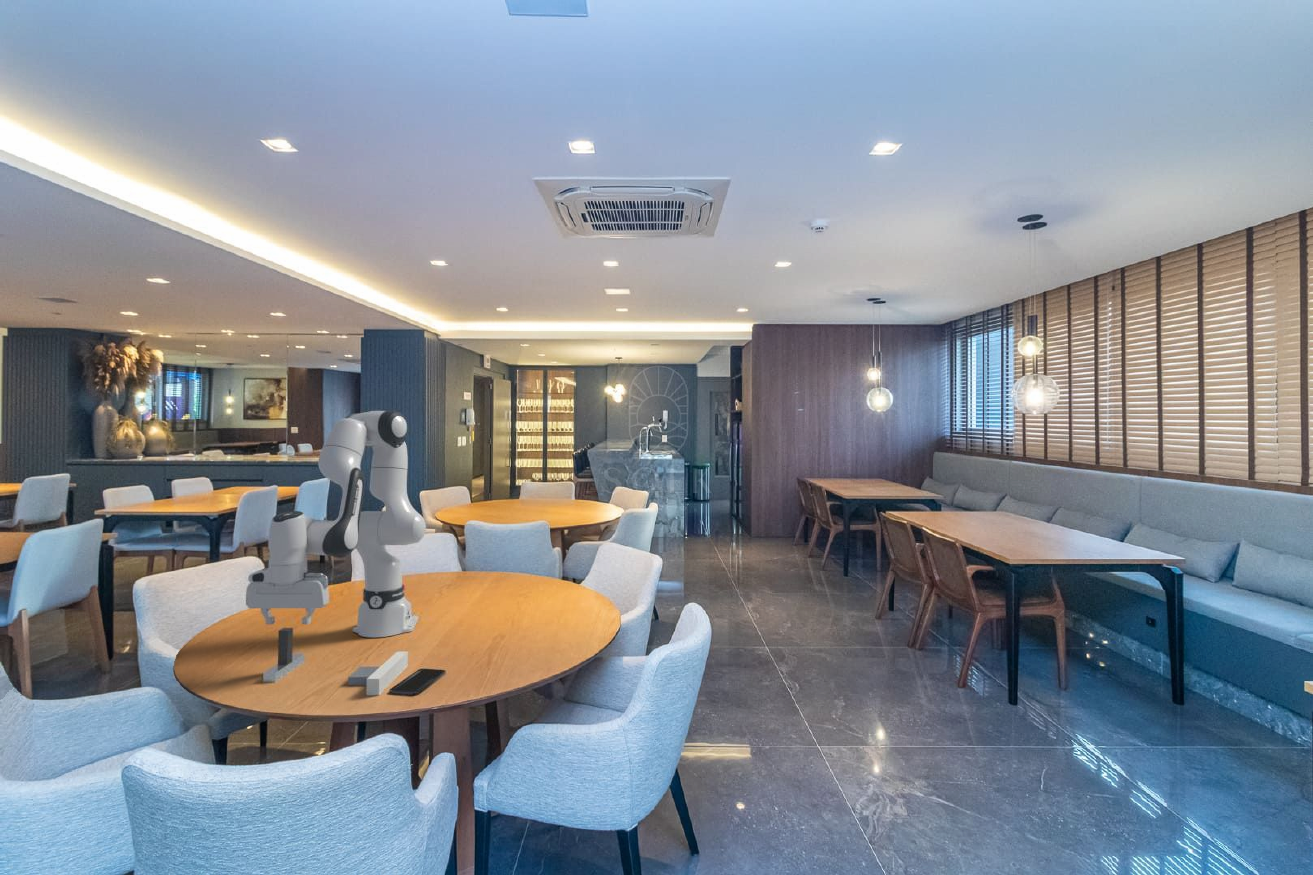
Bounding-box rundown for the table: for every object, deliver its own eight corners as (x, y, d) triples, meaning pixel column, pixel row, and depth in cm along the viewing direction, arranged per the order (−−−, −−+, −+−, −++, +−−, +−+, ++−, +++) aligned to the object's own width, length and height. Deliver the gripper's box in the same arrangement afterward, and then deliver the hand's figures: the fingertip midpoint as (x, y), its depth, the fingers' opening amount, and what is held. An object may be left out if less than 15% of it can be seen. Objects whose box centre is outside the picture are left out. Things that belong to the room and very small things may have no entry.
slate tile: (359, 676, 158) (360, 666, 158) (386, 675, 159) (387, 666, 159) (348, 686, 151) (348, 677, 151) (376, 686, 152) (376, 676, 152)
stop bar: (396, 666, 165) (396, 651, 165) (407, 666, 165) (407, 651, 165) (366, 695, 146) (366, 678, 146) (378, 695, 146) (379, 678, 146)
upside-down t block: (293, 662, 167) (294, 621, 167) (304, 662, 167) (305, 621, 167) (263, 682, 153) (264, 637, 153) (275, 682, 153) (276, 637, 153)
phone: (387, 690, 147) (420, 667, 162) (387, 695, 147) (420, 672, 162) (417, 693, 146) (447, 669, 160) (417, 697, 146) (447, 674, 160)
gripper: (333, 569, 164) (333, 619, 164) (256, 569, 163) (256, 620, 163) (321, 575, 158) (322, 627, 158) (241, 575, 156) (242, 628, 157)
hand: (288, 623), depth 160 cm, fingers open, 8 cm apart
